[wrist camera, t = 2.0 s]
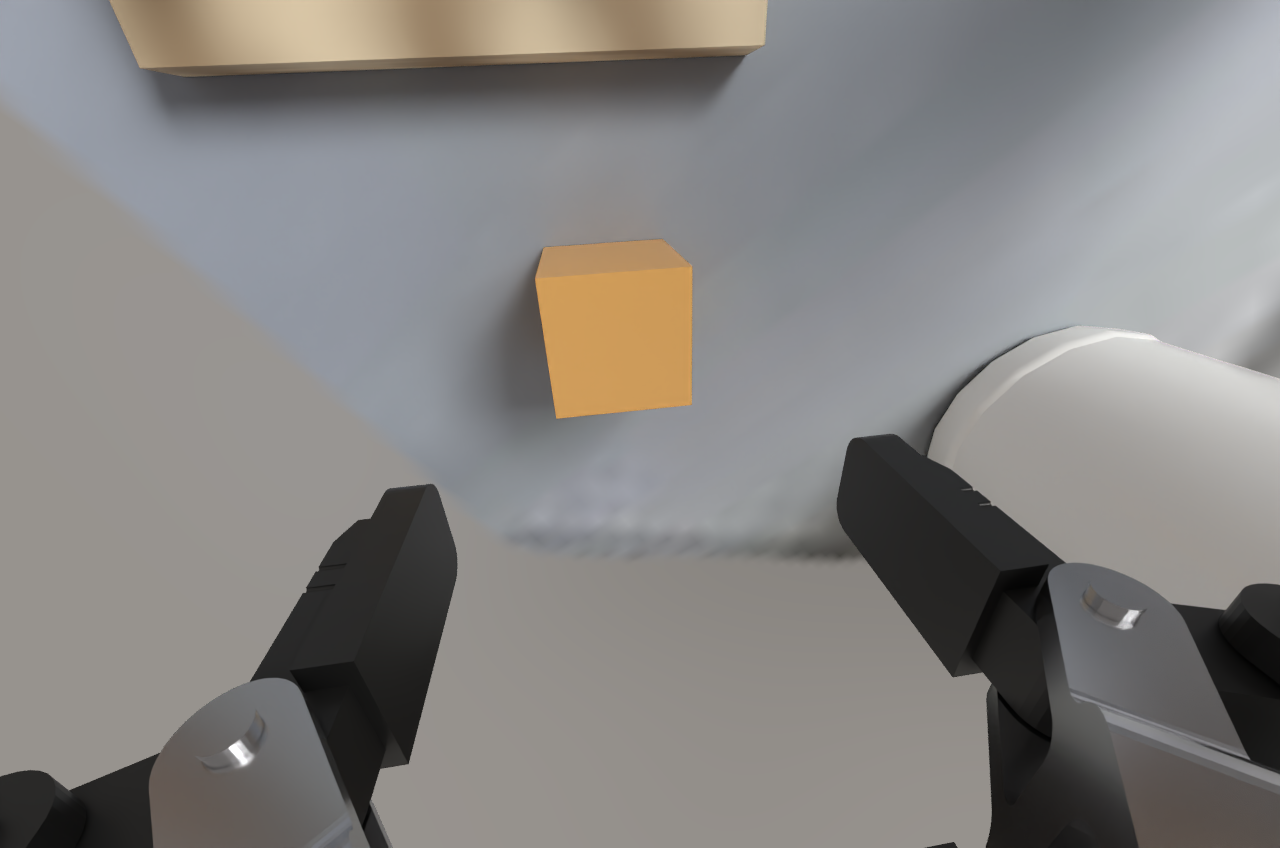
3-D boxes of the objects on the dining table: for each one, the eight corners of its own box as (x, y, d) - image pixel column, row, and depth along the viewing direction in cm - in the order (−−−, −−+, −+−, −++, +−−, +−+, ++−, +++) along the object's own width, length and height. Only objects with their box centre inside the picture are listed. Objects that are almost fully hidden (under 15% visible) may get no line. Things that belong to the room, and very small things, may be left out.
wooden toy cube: (662, 238, 21) (692, 266, 16) (665, 350, 24) (691, 405, 19) (543, 247, 21) (535, 278, 16) (559, 359, 23) (556, 418, 18)
